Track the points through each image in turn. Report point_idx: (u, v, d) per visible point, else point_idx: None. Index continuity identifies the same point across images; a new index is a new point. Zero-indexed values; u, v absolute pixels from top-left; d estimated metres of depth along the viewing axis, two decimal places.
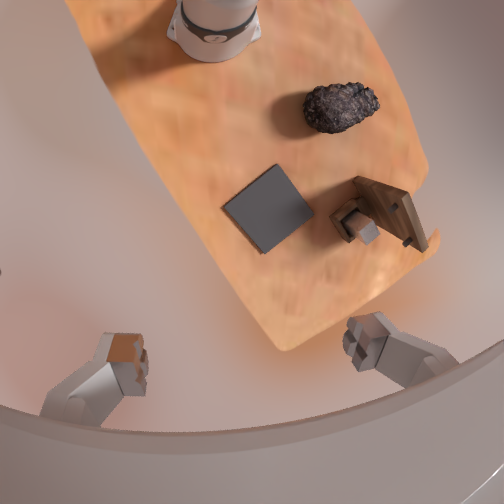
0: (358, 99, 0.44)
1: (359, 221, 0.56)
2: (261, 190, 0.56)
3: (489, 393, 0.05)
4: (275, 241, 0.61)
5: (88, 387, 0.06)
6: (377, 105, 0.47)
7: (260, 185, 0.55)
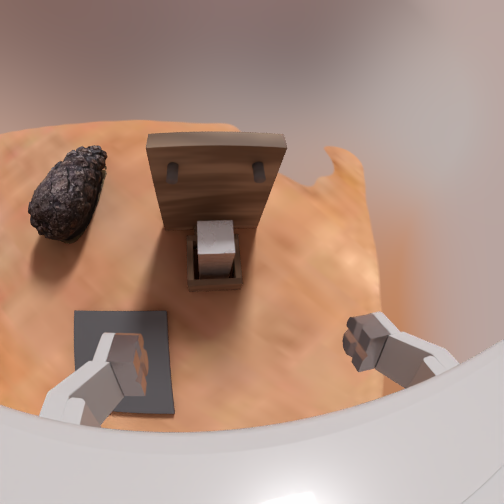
0: (61, 164, 0.32)
1: None
2: (87, 353, 0.31)
3: (489, 393, 0.05)
4: (165, 388, 0.31)
5: (88, 387, 0.06)
6: (94, 148, 0.38)
7: (81, 349, 0.31)
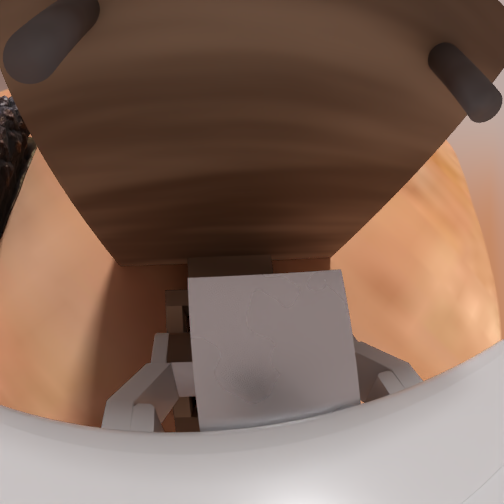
0: None
1: None
2: None
3: (489, 394, 0.05)
4: None
5: (150, 391, 0.07)
6: None
7: None
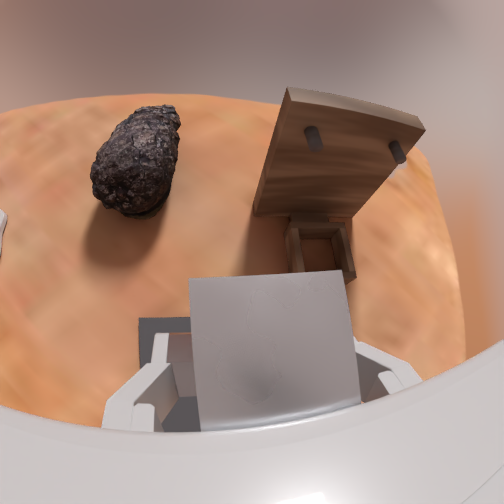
0: (135, 118, 0.28)
1: None
2: None
3: (489, 394, 0.05)
4: None
5: (151, 391, 0.07)
6: (167, 106, 0.33)
7: None
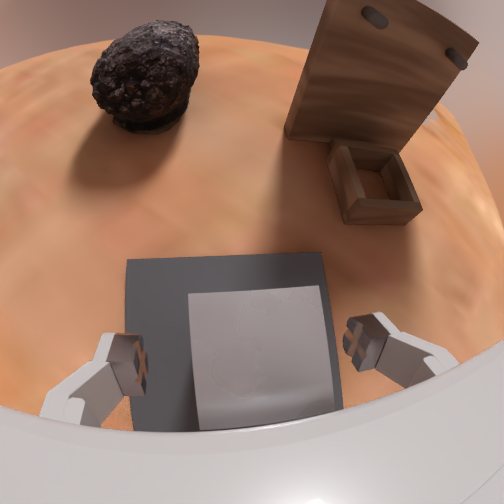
0: (151, 22, 0.19)
1: None
2: (159, 347, 0.16)
3: (489, 393, 0.05)
4: None
5: (88, 387, 0.06)
6: (183, 25, 0.24)
7: (143, 339, 0.16)
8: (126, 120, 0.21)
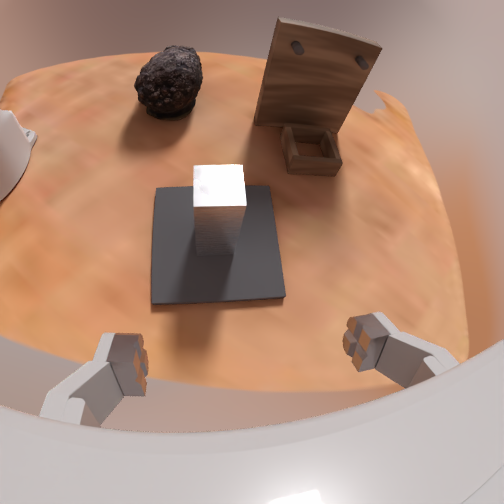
0: (170, 48, 0.33)
1: None
2: (172, 231, 0.30)
3: (489, 393, 0.05)
4: (274, 264, 0.30)
5: (88, 387, 0.06)
6: (189, 47, 0.38)
7: (163, 227, 0.30)
8: (158, 111, 0.36)
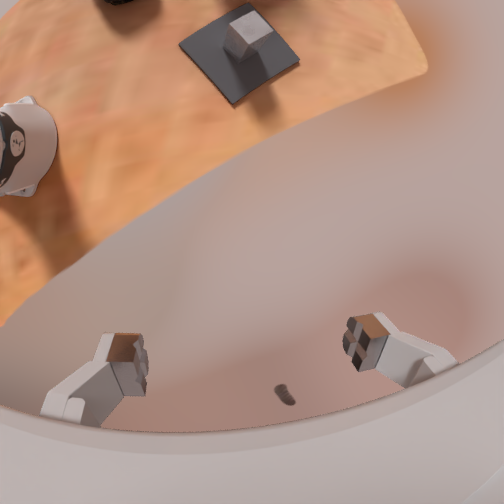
0: None
1: (235, 40, 0.29)
2: (212, 59, 0.35)
3: (489, 394, 0.05)
4: (283, 46, 0.36)
5: (88, 387, 0.06)
6: None
7: (205, 61, 0.35)
8: None
